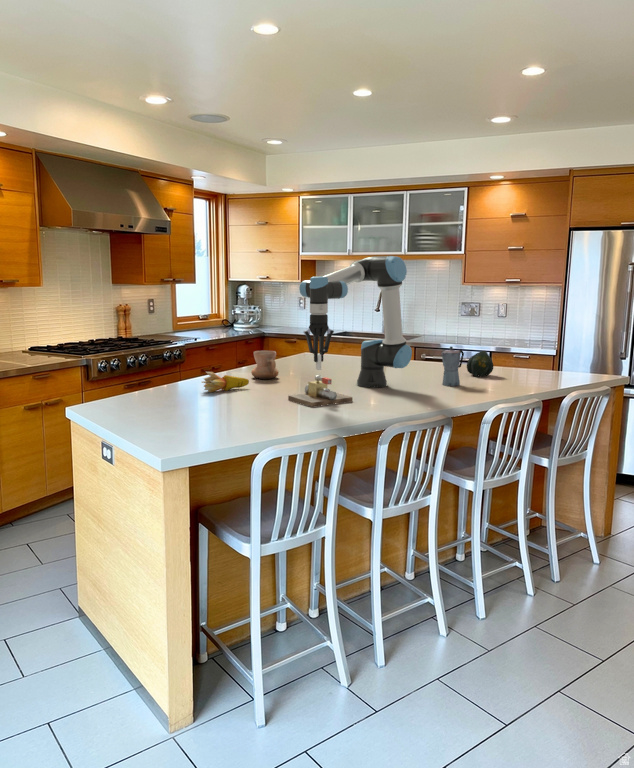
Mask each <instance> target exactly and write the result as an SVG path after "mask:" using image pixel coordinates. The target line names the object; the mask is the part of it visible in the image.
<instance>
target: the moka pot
mask: <svg viewBox="0 0 634 768" xmlns="http://www.w3.org/2000/svg"><path fill="white" fill-rule="evenodd" d="M464 355H465V352H464V351H463V350H462V349H457V350H455V349H453V346H449V350H444V351H441V357H442V366H443V375H442V383H441V384H442V386H446V387H457V386H458V387H459V386H460V385H461V382H460V374H459V368H461V367H462V364H463V359H464V357H465V356H464Z"/></svg>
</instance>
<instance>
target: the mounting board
mask: <svg viewBox="0 0 634 768" xmlns="http://www.w3.org/2000/svg"><path fill="white" fill-rule="evenodd" d="M336 394H337V397H336V399H335V400H331V399H327V398H322V397H313V396H309V395H308V394H306V393H298V394H297V393H296V394H290V395H289V394H288V396H287V399H288V401H290V400H291V401H290V402H293V401H294V403H297V404H300V403H301V405H303V404H304V405H303V406H306V405H308V406H307V407H310V406H311V407H310V408H315V407H314V406H317V407H322V406H321V405H324V406H328V405H327V404H332V405H336V404H335V403H339V404H344V402H346V403H352V402H353V397H352V396H349V395H345V394H341V393H338V392H336Z"/></svg>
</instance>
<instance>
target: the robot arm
mask: <svg viewBox="0 0 634 768" xmlns="http://www.w3.org/2000/svg"><path fill="white" fill-rule="evenodd" d="M407 271H408V270H407V266H406V262H405V261H404V260H403V258H402V257H399V256H396V255H395V256H394V255H386V256H385V255H379V256H377V255H374V256H369V257H365V258H363V259H360V260H357V261H355V262H352V263H350V265H349V266H347V267H344V268H342V269H339V270H336V271H334V272H331V273H328V274H325V275H324V276H312V277H310V279H307V280H302V282H301V283H299V294H300V295H301V296H302V297H303V298H308V299H309V313H310V315H309V326H308V328H307V329H306V330H303V334H304V335H305V337H306V343H307V347H308V351H309V353H310V354H312V355H313V362H314V363H315V370H316V371H322V363H323V362H324V355H325V354H326V353H328V352H329V347H330V344H331V343H330V342H331V338H332V336H333V334H334V330H332V329H331V328H329V327H330V326H329V325H328V324H329V323H328V321H329V320H328V319H329V317H328V312H329V310H328V309H329V308H328V307H329V305H328V304H329V300H335V299H336V300H339V299H344V298H345V297H346V296H347V295H348V293H349V291H348V290H349V288H348V287H349V286H348V285H351V284H354V283H361V282H364V281H365V282H369V281H370V282H376V283H377V287H378V288H379V289H380V290H381V305H382V317H383V330H384V339H372V340H364V341H362V343H361V347H360V371H359V373H358V378H357V380H356V385H357V386H358V385H359V386H360V387H364V388H384V387H387V385H388V381H387V377H386V374H385V371H384V368H385V367H386V368H394V369H404V368H406V367H407V366H408V365H410V362H411V360H412V355H413V351H412V347H411V346H410V345H408V344H407V339H406V338H405V337H404V335H403V324H402V309H401V295H400V294H401V293H400V292H401V291H400V287H401V286H402V285H403V282H404V280H405V279H406V277H407V273H408V272H407ZM326 333H327V334H326ZM325 334H326V338H325ZM311 335H312V337H313V342H312V337H311ZM359 386H358V387H359Z"/></svg>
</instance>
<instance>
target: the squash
mask: <svg viewBox="0 0 634 768" xmlns="http://www.w3.org/2000/svg"><path fill="white" fill-rule="evenodd" d="M466 370H467V372H468V373H469V374H471V375H473V377H483V376H484V377H487V376H488V375H490V374H491V373H493V370H494V362H493V359H492V358H491V356H490V355H489V353H488V352H487V351H486V350H481V351H479V352H477V353H475V354H474V355H472V356H470V357H469V358H468V360H467V363H466Z"/></svg>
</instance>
